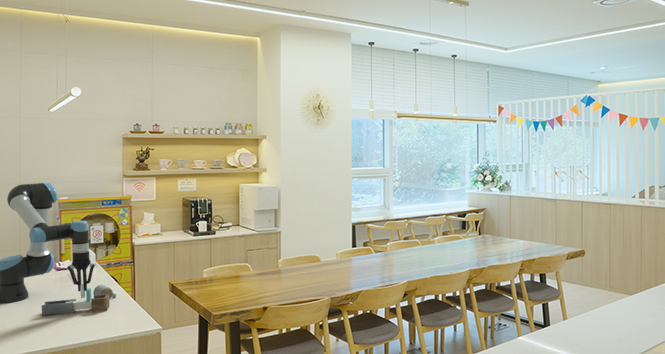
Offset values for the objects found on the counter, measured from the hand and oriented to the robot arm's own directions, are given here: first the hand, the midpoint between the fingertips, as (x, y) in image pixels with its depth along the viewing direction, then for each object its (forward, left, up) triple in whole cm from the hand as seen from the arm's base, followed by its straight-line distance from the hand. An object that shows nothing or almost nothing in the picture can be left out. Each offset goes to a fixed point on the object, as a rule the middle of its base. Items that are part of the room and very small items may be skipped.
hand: (83, 297), depth 247 cm
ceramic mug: (-18, +7, -7) cm, 21 cm away
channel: (0, -11, -7) cm, 13 cm away
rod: (0, +1, -6) cm, 6 cm away
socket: (0, +8, -7) cm, 11 cm away
